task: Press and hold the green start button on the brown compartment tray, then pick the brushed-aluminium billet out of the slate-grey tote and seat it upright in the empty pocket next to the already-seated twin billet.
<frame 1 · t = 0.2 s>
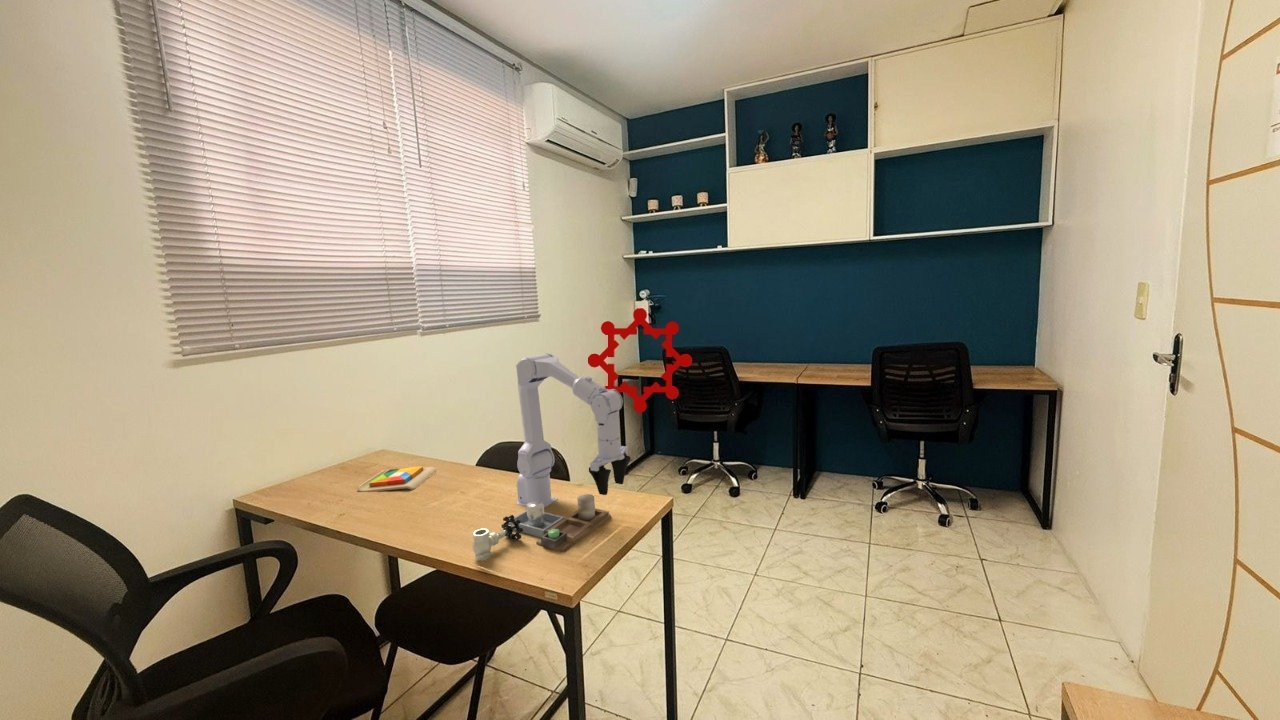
hand: (611, 488, 125), 10 cm above the table, fingers open, 7 cm apart
brown compartment tray: (575, 531, 124), on the table
wooden puzzle: (399, 483, 165), on the table
start button: (553, 534, 116), point 3 cm above the table, slide at 0.0 cm
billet: (536, 526, 126), resting on tote
valve: (496, 551, 116), on the table
tote: (536, 527, 126), on the table
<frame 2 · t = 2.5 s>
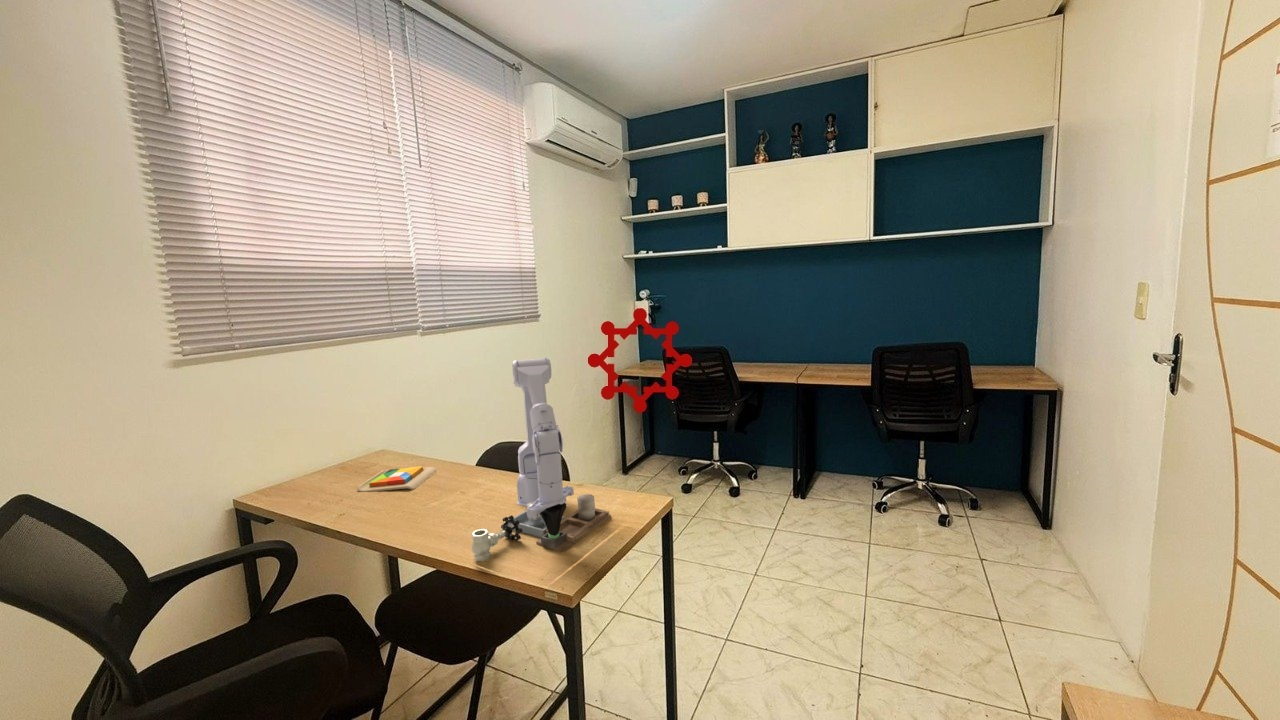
hand: (553, 533, 116), 3 cm above the table, fingers closed, pressing on start button
start button: (554, 537, 116), point 2 cm above the table, slide at 0.6 cm, touching gripper
everything else where it was.
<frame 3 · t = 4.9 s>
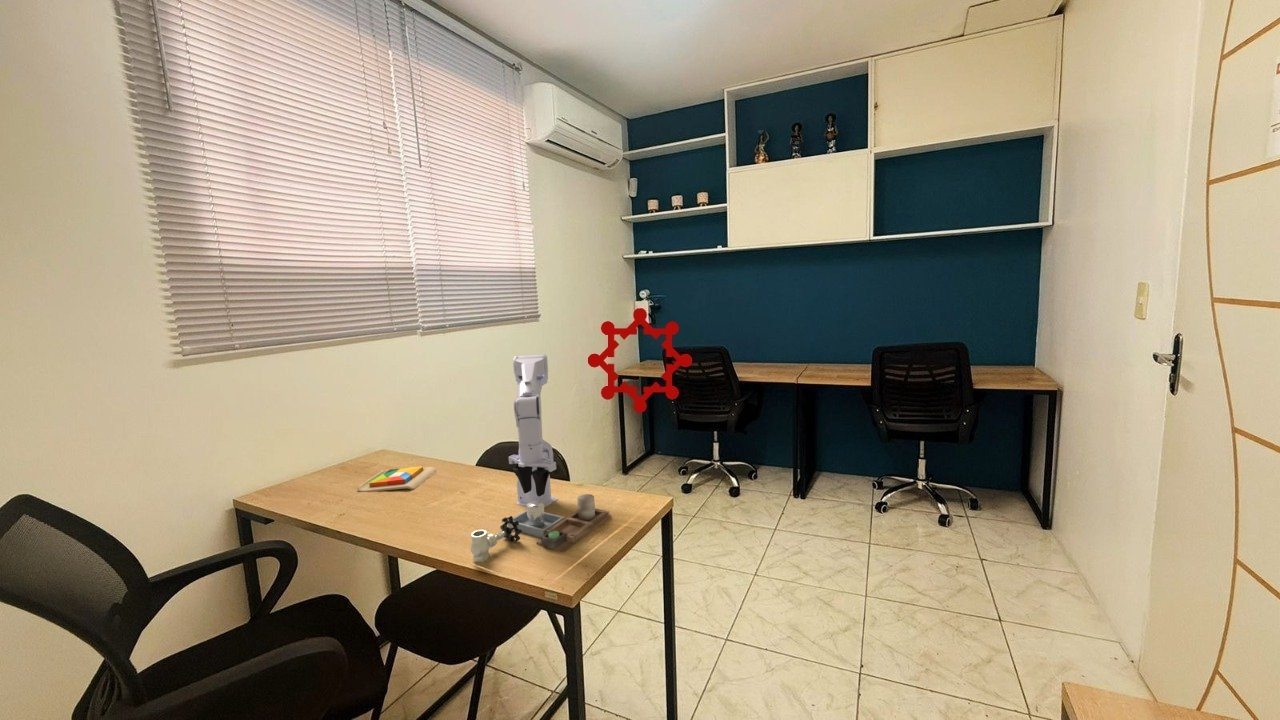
hand: (534, 493, 125), 9 cm above the table, fingers open, 4 cm apart
start button: (554, 537, 116), point 2 cm above the table, slide at 0.6 cm
everything else where it was.
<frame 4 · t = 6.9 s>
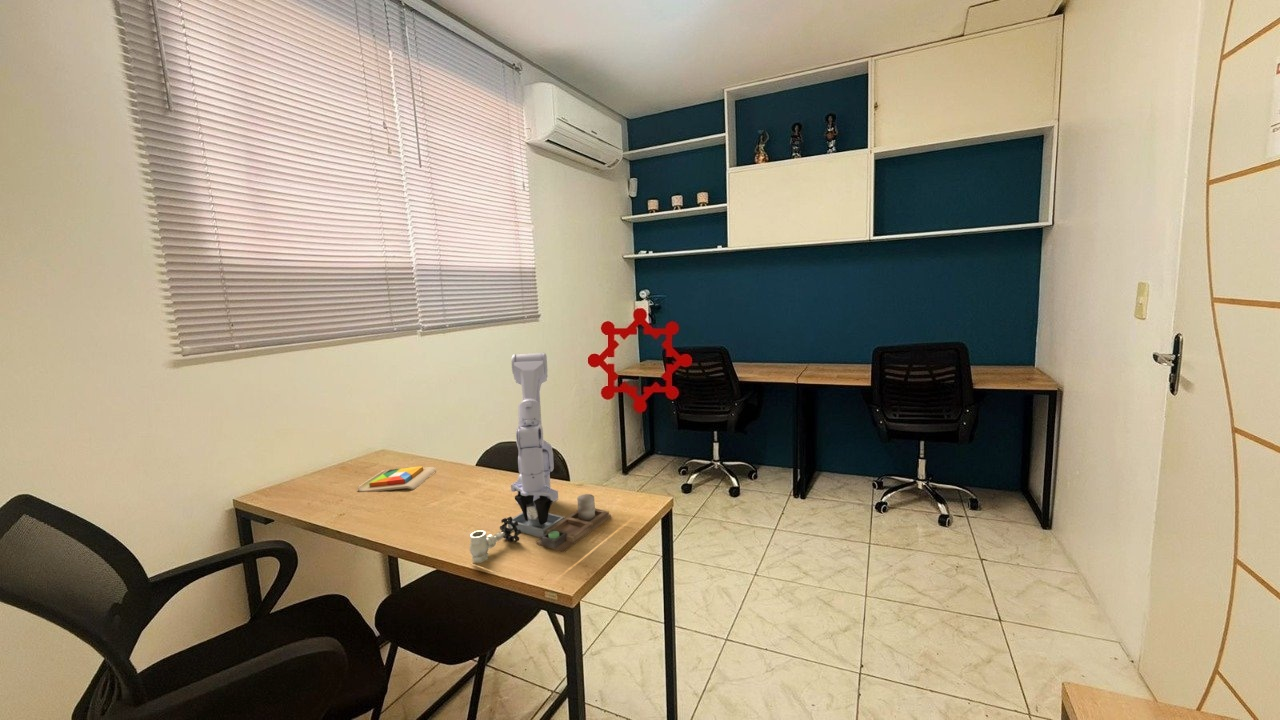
hand: (536, 521, 126), 2 cm above the table, fingers closed on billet, 4 cm apart
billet: (536, 526, 126), resting on tote, touching gripper
everything else where it was.
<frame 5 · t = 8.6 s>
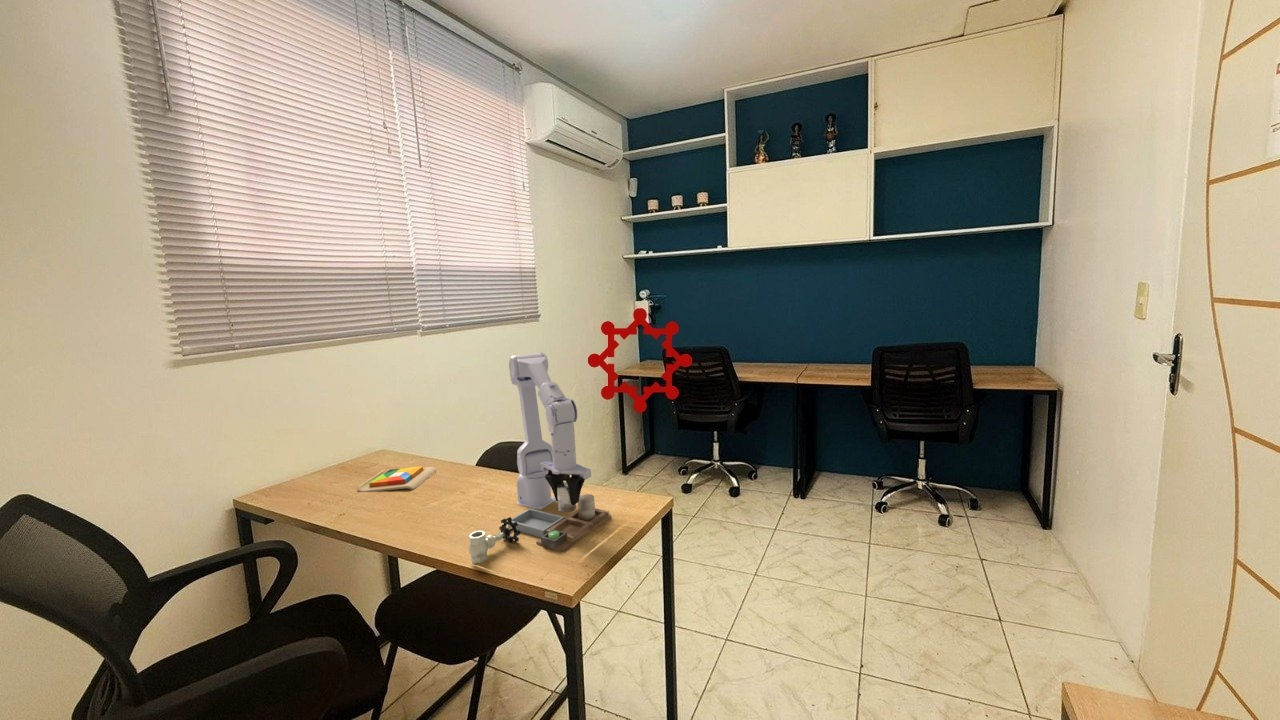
hand: (567, 501, 121), 9 cm above the table, fingers closed on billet, 4 cm apart
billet: (567, 508, 121), point 7 cm above the table, touching gripper
when the fingers open (4 cm above the table, at t = 10.4 s): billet drops 1 cm, resting on brown compartment tray.
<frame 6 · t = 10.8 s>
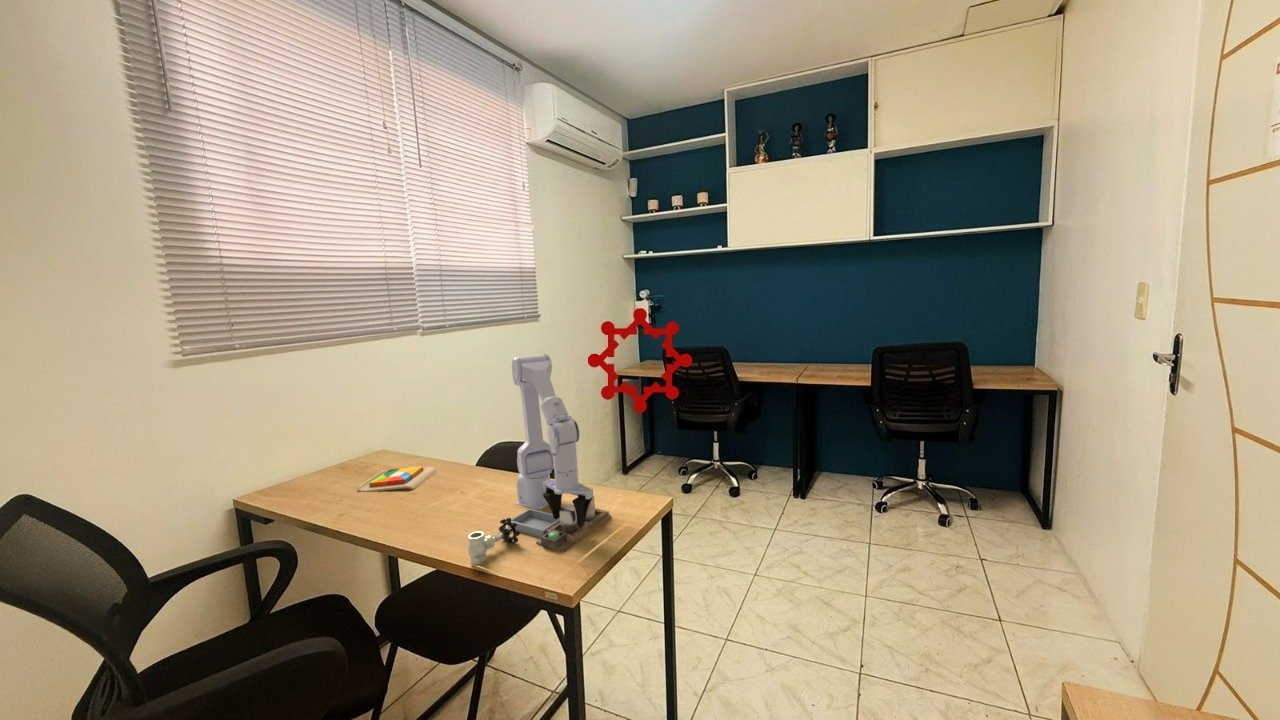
hand: (569, 520, 121), 4 cm above the table, fingers open, 7 cm apart
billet: (569, 531, 122), point 1 cm above the table, touching brown compartment tray
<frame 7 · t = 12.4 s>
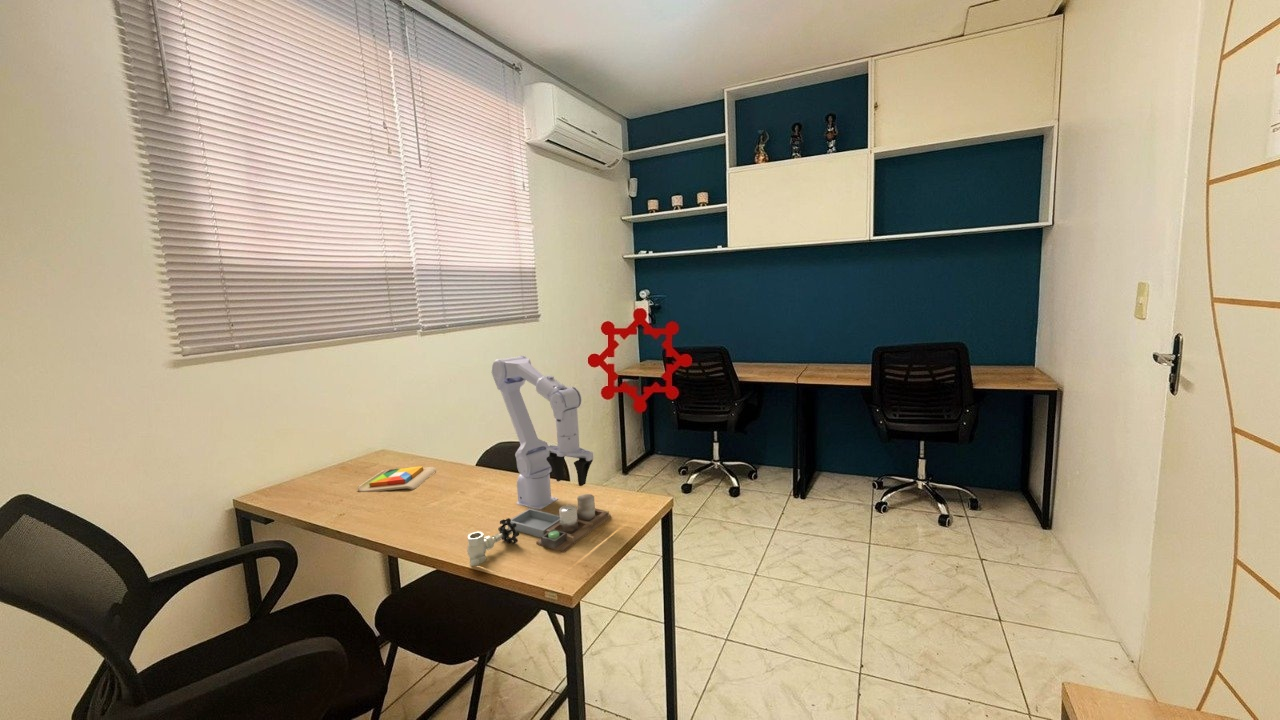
hand: (571, 482, 130), 10 cm above the table, fingers open, 7 cm apart
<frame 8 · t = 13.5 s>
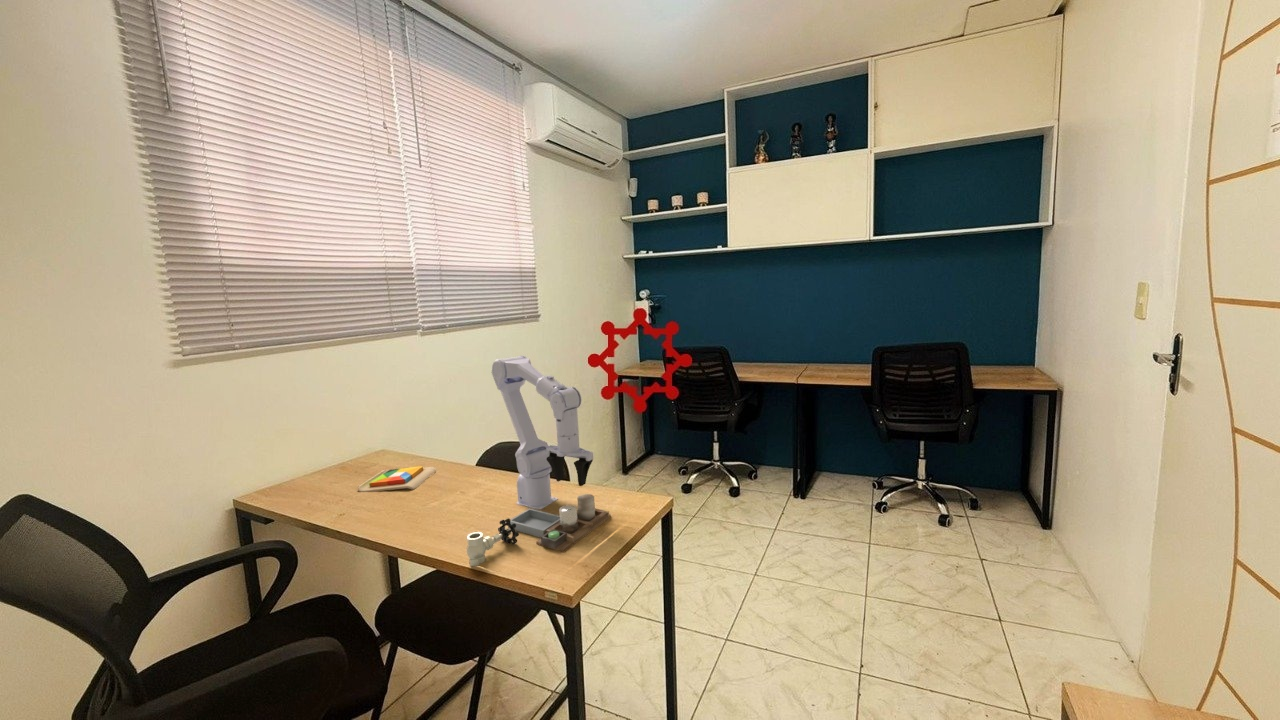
hand: (571, 482, 130), 10 cm above the table, fingers open, 7 cm apart
at the end: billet 0.2 cm from the target spot on the brown compartment tray, point 1.0 cm above the brown compartment tray's base; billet tilted 0°; the gripper is holding nothing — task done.
